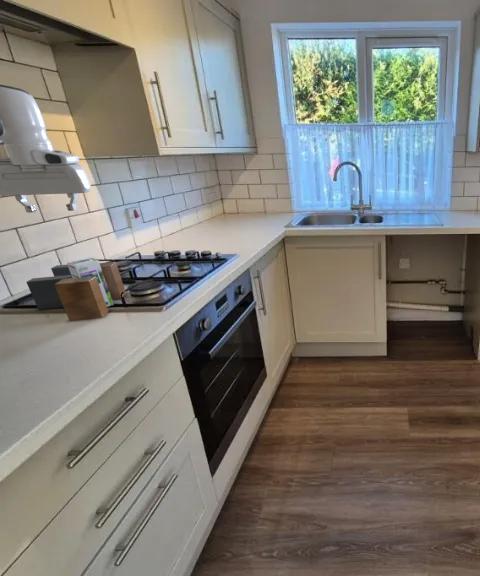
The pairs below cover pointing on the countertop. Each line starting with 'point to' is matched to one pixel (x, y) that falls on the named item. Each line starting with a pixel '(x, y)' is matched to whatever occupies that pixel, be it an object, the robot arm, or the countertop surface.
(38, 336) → the countertop surface
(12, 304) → the countertop surface
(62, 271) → the grey boxes
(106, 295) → the syrup box
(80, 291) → the wooden blocks
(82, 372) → the countertop surface
